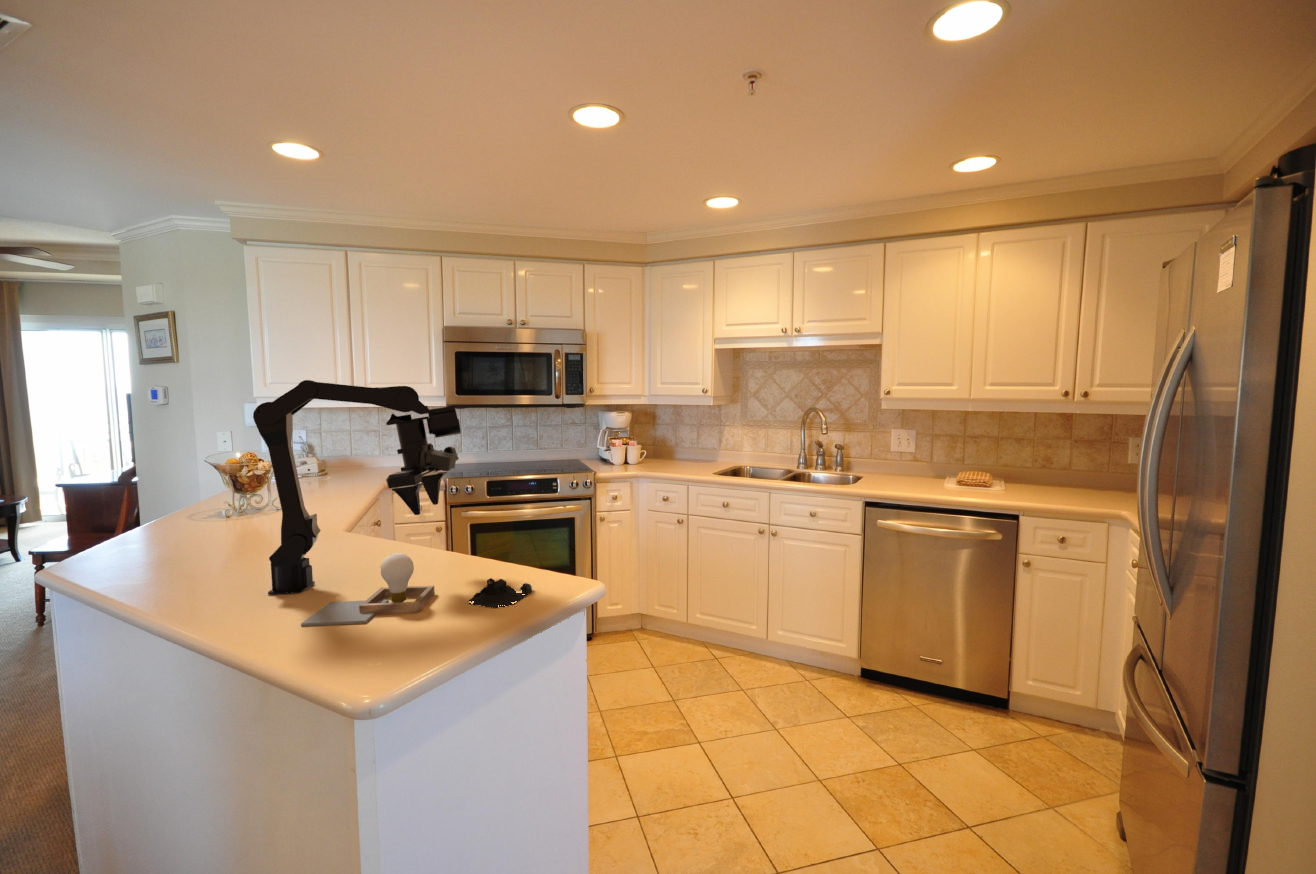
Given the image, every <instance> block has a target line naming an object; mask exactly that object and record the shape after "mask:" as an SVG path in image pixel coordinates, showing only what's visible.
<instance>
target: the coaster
mask: <svg viewBox="0 0 1316 874" xmlns="http://www.w3.org/2000/svg"><path fill="white" fill-rule="evenodd" d="M364 601H365V600H344V601H342V600H341V601H329V602H328V603H327V604H325V605H324V606H323V607H321V608H320V609H318V610H317V611H316V612H315V613H313V614H312V615H310V616H309V617H308V618H306V619H305V620H304V621H302V622H301V624H300V625H301V627H311V626H312V627H315V626H317V627H318V626H334V625H335V626H336V625H338V626H339V625H356V624H357V625H359V624H360V625H361V624H367V623H368V622H369V621H370V620H371V619H372V618H373V617H374V616H375V612H363V613H360V611H359V606H360V605H361V604H362V603H363V602H364ZM376 603H390V600H389V599H383V600H379V601H378V602H376Z"/></svg>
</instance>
